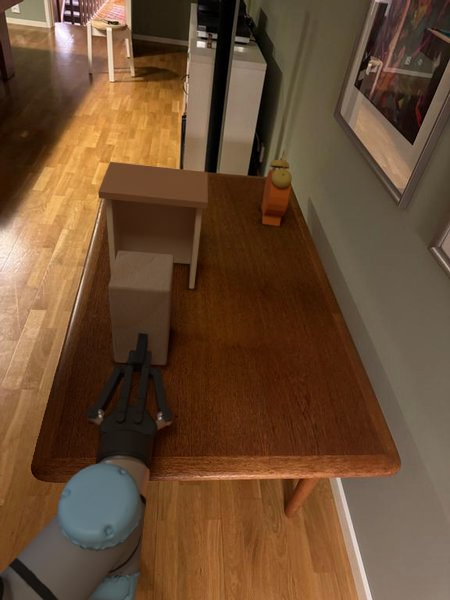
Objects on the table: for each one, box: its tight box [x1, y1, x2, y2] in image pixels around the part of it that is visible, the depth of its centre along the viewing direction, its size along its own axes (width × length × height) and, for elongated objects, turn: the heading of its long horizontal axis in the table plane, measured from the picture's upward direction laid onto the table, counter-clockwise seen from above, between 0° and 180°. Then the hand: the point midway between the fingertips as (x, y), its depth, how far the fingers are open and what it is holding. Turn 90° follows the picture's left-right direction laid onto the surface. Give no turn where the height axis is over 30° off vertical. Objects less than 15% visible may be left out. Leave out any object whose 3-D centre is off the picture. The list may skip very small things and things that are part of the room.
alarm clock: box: [260, 150, 293, 227], centre depth 120 cm, size 13×6×20 cm, turn 179°
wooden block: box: [107, 250, 175, 366], centre depth 75 cm, size 10×10×20 cm
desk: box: [97, 161, 209, 289], centre depth 90 cm, size 13×21×24 cm, turn 92°
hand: (143, 338), depth 72 cm, fingers closed
